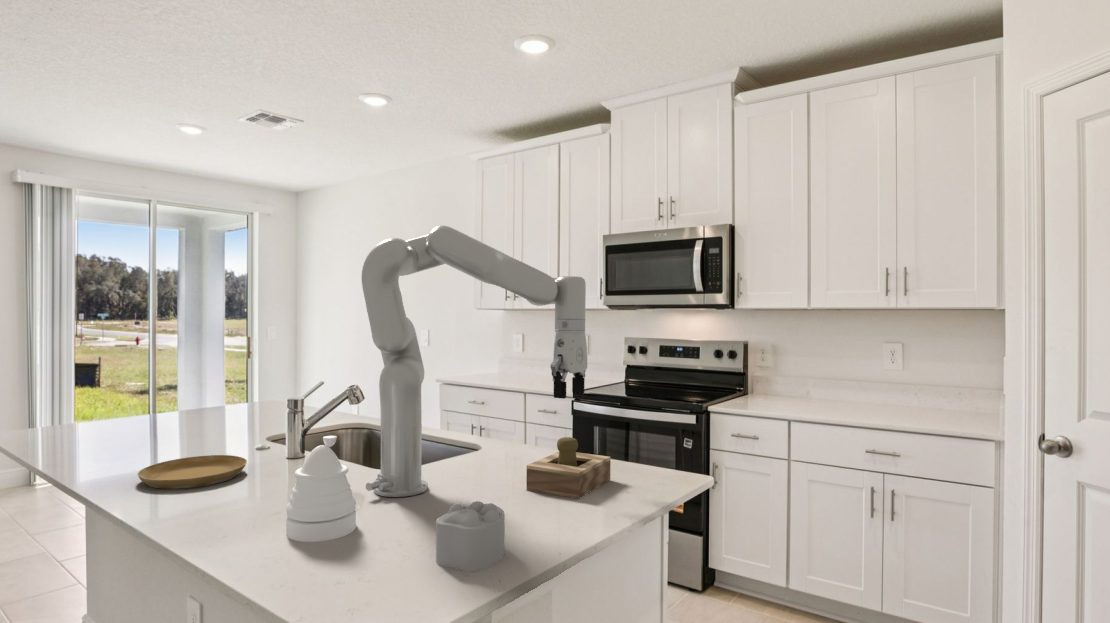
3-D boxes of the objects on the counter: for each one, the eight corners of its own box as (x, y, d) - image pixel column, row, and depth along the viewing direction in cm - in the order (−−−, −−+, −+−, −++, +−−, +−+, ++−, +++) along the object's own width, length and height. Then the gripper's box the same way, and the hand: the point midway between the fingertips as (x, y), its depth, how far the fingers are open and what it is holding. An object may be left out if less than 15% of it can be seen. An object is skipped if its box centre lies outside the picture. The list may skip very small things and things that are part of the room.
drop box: (578, 498, 146) (578, 472, 146) (526, 490, 152) (526, 465, 152) (610, 480, 161) (610, 456, 161) (561, 473, 168) (562, 450, 168)
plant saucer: (123, 496, 146) (123, 482, 146) (152, 470, 169) (152, 458, 169) (239, 487, 154) (239, 474, 154) (252, 464, 177) (252, 452, 177)
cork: (580, 479, 159) (580, 435, 159) (578, 486, 153) (579, 440, 153) (556, 478, 160) (556, 435, 159) (553, 485, 154) (554, 440, 153)
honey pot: (326, 515, 134) (326, 429, 133) (369, 526, 127) (369, 436, 127) (271, 533, 123) (271, 440, 122) (316, 546, 116) (316, 448, 116)
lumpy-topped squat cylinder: (427, 563, 109) (427, 513, 109) (470, 538, 121) (470, 493, 121) (478, 574, 104) (478, 522, 104) (517, 548, 116) (518, 501, 116)
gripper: (567, 327, 147) (566, 401, 147) (598, 326, 162) (597, 392, 162) (539, 326, 151) (538, 398, 151) (572, 325, 166) (571, 390, 166)
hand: (569, 395), depth 157 cm, fingers open, 9 cm apart
